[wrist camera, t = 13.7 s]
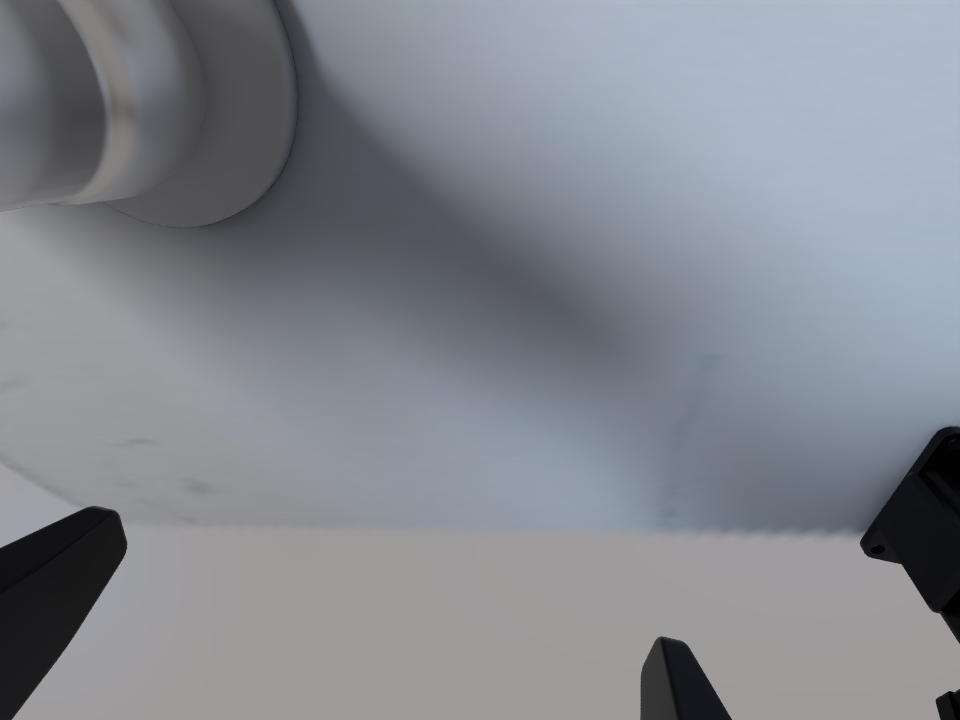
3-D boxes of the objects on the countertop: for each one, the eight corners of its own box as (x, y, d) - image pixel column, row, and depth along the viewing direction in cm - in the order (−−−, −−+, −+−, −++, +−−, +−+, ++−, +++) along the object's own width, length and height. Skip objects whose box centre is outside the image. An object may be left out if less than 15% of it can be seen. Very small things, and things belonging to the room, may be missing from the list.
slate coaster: (291, -100, 15) (274, -110, 14) (302, 242, 20) (290, 250, 19) (-31, -145, 16) (-66, -157, 15) (57, 195, 21) (34, 201, 20)
